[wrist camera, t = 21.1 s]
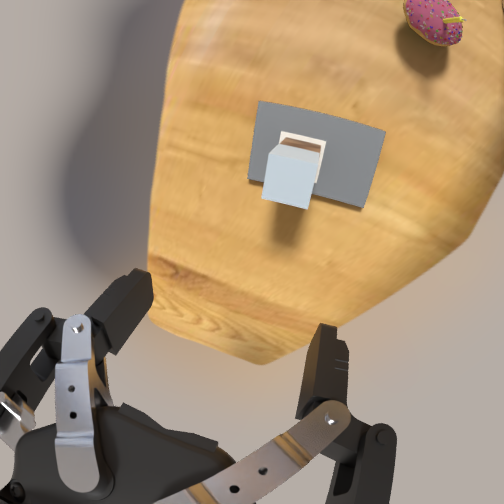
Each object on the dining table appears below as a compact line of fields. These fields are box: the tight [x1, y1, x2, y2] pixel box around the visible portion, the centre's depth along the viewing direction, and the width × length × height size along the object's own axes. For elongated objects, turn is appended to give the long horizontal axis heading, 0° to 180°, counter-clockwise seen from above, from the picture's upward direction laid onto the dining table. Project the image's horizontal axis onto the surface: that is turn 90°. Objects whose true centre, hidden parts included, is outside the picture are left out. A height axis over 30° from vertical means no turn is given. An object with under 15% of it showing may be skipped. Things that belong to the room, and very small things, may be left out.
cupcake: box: [403, 0, 466, 46], centre depth 17 cm, size 9×8×12 cm
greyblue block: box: [262, 144, 320, 209], centre depth 30 cm, size 5×5×6 cm
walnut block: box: [280, 137, 321, 157], centre depth 35 cm, size 5×5×6 cm
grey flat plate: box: [247, 101, 386, 208], centre depth 37 cm, size 18×12×1 cm, turn 82°
